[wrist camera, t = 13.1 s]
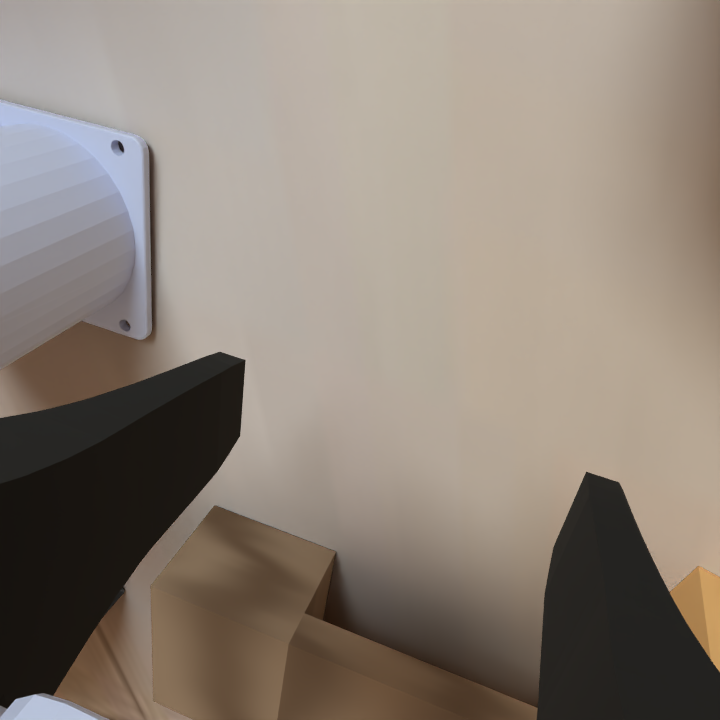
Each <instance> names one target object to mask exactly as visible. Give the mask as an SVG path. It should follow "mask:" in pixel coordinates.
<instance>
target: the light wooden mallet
mask: <svg viewBox="0 0 720 720" xmlns="http://www.w3.org/2000/svg"><path fill="white" fill-rule="evenodd" d="M670 594H671V596H672V598H673V600H674V602H675V603H676V605H677V607H678V609H679V611H680V612H681V614H682V616H683V618H684V619H685V621H686V623H687V624H688V626H689V627H690V629H691V631H692V632H693V634H694V635H695V637H696V638H697V640H698V641H699V643H700V644H701V646H702V647H703V649H704V650H705V652H706V653H707V655H708V656H709V658H710V659H711V661H712V662H713V664H714V665H715V666H716V668H717V669H718V670H719V672H720V577H718V576H717V575H715V574H713V573H711V572H709V571H707V570H705V569H704V568H702V567H700V566H698V567H697V568H696V569H695V570H693V571H692V572H691V573H690V574H689V575H688V576H687V577H686V578H685V579H684V580H683V581H682V582H680V583H679V584H678V585H677V586H676V587H675V588H674V589H673V590H672V591H671V592H670Z"/></svg>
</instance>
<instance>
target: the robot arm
mask: <svg viewBox="0 0 720 720" xmlns="http://www.w3.org/2000/svg"><path fill="white" fill-rule="evenodd" d="M119 141H120V142H121V143H122V145H123V147H124V153H123V152H122V151H121V150H120V149H119V146H118V142H119ZM125 320H126V321H128V323H129V324H130V326H128V325H127V323H126V321H125ZM80 321H83V322H86V323H89V324H92V325H95V326H98V327H101V328H104V329H107V330H110V331H113V332H116V333H119V334H122V335H125V336H128V337H131V338H134V339H137V340H143V339H145V338H146V337H148V336H149V335H150V334H151V331H152V304H151V244H150V184H149V150H148V146H147V144H146V142H145V141H144V140H143V139H142V138H141V137H140V136H138V135H136V134H132V133H128V132H124V131H120V130H116V129H113V128H109V127H105V126H101V125H97V124H93V123H89V122H86V121H82V120H78V119H74V118H70V117H66V116H63V115H59V114H55V113H51V112H47V111H43V110H39V109H36V108H32V107H28V106H24V105H20V104H16V103H12V102H9V101H5V100H1V99H0V370H1V369H3V368H4V367H6V366H8V365H9V364H11V363H13V362H14V361H16V360H18V359H19V358H21V357H22V356H24V355H26V354H27V353H29V352H31V351H32V350H34V349H36V348H37V347H39V346H41V345H42V344H44V343H46V342H47V341H49V340H50V339H52V338H54V337H55V336H57V335H59V334H60V333H62V332H64V331H65V330H67V329H69V328H70V327H72V326H74V325H75V324H77V323H79V322H80ZM244 373H245V360H243V359H240V358H237V357H234V356H231V355H228V354H225V353H222V352H218V353H215V354H212V355H209V356H206V357H203V358H200V359H198V360H195V361H193V362H190V363H187V364H185V365H182V366H180V367H177V368H174V369H172V370H169V371H167V372H164V373H161V374H159V375H156V376H153V377H151V378H148V379H146V380H143V381H140V382H137V383H135V384H132V385H129V386H126V387H123V388H120V389H117V390H114V391H111V392H107V393H104V394H101V395H98V396H95V397H92V398H89V399H85V400H82V401H78V402H75V403H71V404H67V405H63V406H59V407H55V408H51V409H46V410H42V411H38V412H33V413H27V414H22V415H16V416H10V417H4V418H0V720H109V719H107V718H105V717H103V716H101V715H99V714H97V713H94V712H92V711H90V710H88V709H86V708H84V707H82V706H80V705H78V704H75V703H73V702H71V701H68V700H65V699H61V698H58V697H55V696H53V695H54V693H55V692H56V690H57V688H58V687H59V685H60V683H61V682H62V680H63V679H64V677H65V675H66V674H67V672H68V670H69V669H70V667H71V666H72V664H73V662H74V661H75V659H76V658H77V656H78V654H79V653H80V651H81V650H82V648H83V646H84V645H85V643H86V641H87V640H88V638H89V637H90V635H91V634H92V632H93V631H94V629H95V628H96V626H97V625H98V623H99V622H100V620H101V619H102V617H103V616H104V614H105V613H106V611H107V610H108V608H109V607H110V605H111V603H112V602H113V600H114V599H115V598H116V596H117V595H118V593H119V592H120V590H121V589H122V587H123V586H124V585H125V583H126V582H127V580H128V579H129V577H130V576H131V575H132V573H133V572H134V570H135V569H136V567H137V566H138V565H139V563H140V562H141V561H142V559H143V558H144V557H145V555H146V554H147V553H148V552H149V550H150V549H151V548H152V547H153V545H154V544H155V543H156V542H157V541H158V540H159V539H160V537H161V536H162V535H163V534H164V533H165V532H166V531H167V529H168V528H169V527H170V526H171V525H172V524H173V522H174V521H175V520H176V519H177V518H178V517H179V516H180V514H181V513H182V512H183V511H184V510H185V509H186V508H187V506H188V505H189V504H190V503H191V502H192V501H193V500H194V498H195V497H196V496H197V495H198V494H199V493H200V491H201V490H202V489H203V488H204V487H205V486H206V484H207V483H208V482H209V481H210V480H211V478H212V477H213V476H214V475H215V474H216V472H217V471H218V470H219V468H220V467H221V465H222V464H223V462H224V461H225V459H226V458H227V456H228V454H229V453H230V451H231V450H232V448H233V446H234V445H235V443H236V442H237V440H238V438H239V437H240V429H241V415H242V401H243V387H244ZM537 720H720V672H719V670H718V669H717V668H716V666H715V665H714V664H713V662H712V661H711V659H710V658H709V656H708V655H707V653H706V652H705V650H704V649H703V647H702V646H701V644H700V643H699V641H698V640H697V638H696V637H695V635H694V634H693V632H692V631H691V629H690V627H689V626H688V624H687V623H686V621H685V619H684V618H683V616H682V614H681V612H680V611H679V609H678V607H677V605H676V603H675V602H674V600H673V598H672V596H671V594H670V593H669V591H668V589H667V587H666V585H665V583H664V581H663V579H662V577H661V575H660V573H659V571H658V569H657V567H656V565H655V563H654V561H653V559H652V557H651V555H650V553H649V551H648V548H647V546H646V544H645V542H644V540H643V537H642V535H641V533H640V530H639V528H638V526H637V524H636V521H635V519H634V516H633V514H632V512H631V509H630V507H629V504H628V502H627V499H626V497H625V494H624V492H623V489H622V487H621V485H620V483H619V482H616V481H613V480H610V479H607V478H604V477H601V476H597V475H594V474H591V473H588V472H586V474H585V476H584V478H583V481H582V483H581V485H580V488H579V490H578V492H577V495H576V497H575V499H574V501H573V504H572V506H571V508H570V511H569V513H568V515H567V517H566V520H565V522H564V524H563V527H562V529H561V531H560V534H559V536H558V538H557V540H556V543H555V545H554V548H553V553H552V558H551V563H550V568H549V573H548V579H547V584H546V590H545V598H544V614H543V630H542V647H541V665H540V682H539V700H538V710H537Z"/></svg>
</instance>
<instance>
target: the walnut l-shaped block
mask: <svg viewBox="0 0 720 720" xmlns="http://www.w3.org/2000/svg"><path fill="white" fill-rule="evenodd" d="M335 553H336V552H335V551H333V550H330V549H327V548H325V547H322V546H320V545H317V544H314V543H312V542H309V541H306V540H304V539H301V538H299V537H296V536H293V535H291V534H288V533H285V532H283V531H280V530H278V529H275V528H272V527H270V526H267V525H264V524H262V523H259V522H257V521H254V520H251V519H249V518H246V517H243V516H241V515H238V514H236V513H233V512H230V511H228V510H225V509H223V508H220V507H217V506H214V507H213V508H212V509H211V511H210V512H209V513H208V515H207V516H206V517H205V518H204V520H203V521H202V522H201V523H200V525H199V526H198V527H197V528H196V530H195V531H194V532H193V533H192V535H191V536H190V537H189V538H188V540H187V541H186V542H185V543H184V545H183V546H182V547H181V549H180V550H179V551H178V552H177V554H176V555H175V556H174V557H173V559H172V560H171V561H170V562H169V564H168V565H167V566H166V567H165V569H164V570H163V571H162V572H161V574H160V575H159V576H158V577H157V579H156V580H155V581H154V582H153V584H152V585H151V622H152V665H153V701H154V702H156V703H158V704H160V705H163V706H165V707H167V708H169V709H171V710H173V711H176V712H178V713H180V714H182V715H184V716H186V717H189V718H191V719H193V720H537V710H538V708H536V707H534V706H532V705H529V704H527V703H524V702H522V701H519V700H517V699H514V698H512V697H509V696H507V695H504V694H502V693H500V692H497V691H495V690H492V689H490V688H487V687H485V686H482V685H480V684H477V683H475V682H472V681H470V680H468V679H465V678H463V677H460V676H458V675H455V674H453V673H450V672H448V671H445V670H443V669H440V668H438V667H436V666H433V665H431V664H428V663H426V662H423V661H421V660H418V659H416V658H413V657H411V656H408V655H406V654H404V653H401V652H399V651H396V650H394V649H391V648H389V647H386V646H384V645H381V644H379V643H376V642H374V641H372V640H369V639H367V638H364V637H362V636H359V635H357V634H354V633H352V632H349V631H347V630H345V629H342V628H340V627H337V626H335V625H332V624H330V623H327V622H325V621H323V617H324V611H325V606H326V601H327V596H328V590H329V585H330V580H331V574H332V569H333V564H334V559H335Z"/></svg>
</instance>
